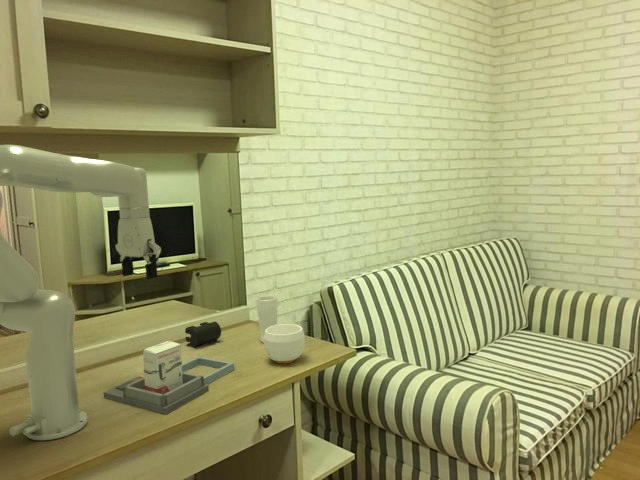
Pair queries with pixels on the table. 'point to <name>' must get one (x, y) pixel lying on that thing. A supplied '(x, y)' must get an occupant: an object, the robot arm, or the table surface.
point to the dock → (157, 402)
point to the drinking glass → (266, 313)
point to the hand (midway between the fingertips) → (139, 276)
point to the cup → (284, 342)
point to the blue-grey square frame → (223, 365)
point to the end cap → (203, 334)
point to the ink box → (163, 367)
